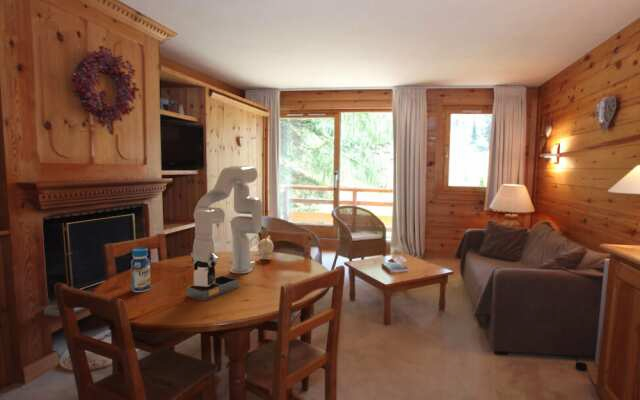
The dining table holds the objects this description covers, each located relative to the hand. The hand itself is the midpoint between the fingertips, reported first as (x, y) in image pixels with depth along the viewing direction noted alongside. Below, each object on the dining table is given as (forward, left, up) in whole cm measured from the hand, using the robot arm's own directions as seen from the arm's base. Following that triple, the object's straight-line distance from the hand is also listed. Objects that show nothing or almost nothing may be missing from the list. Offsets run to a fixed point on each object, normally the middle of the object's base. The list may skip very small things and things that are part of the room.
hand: (204, 273), depth 170 cm
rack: (-5, 0, -10) cm, 12 cm away
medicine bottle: (0, 0, -6) cm, 6 cm away
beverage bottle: (+12, -31, -11) cm, 35 cm away
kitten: (-66, -18, -11) cm, 70 cm away
